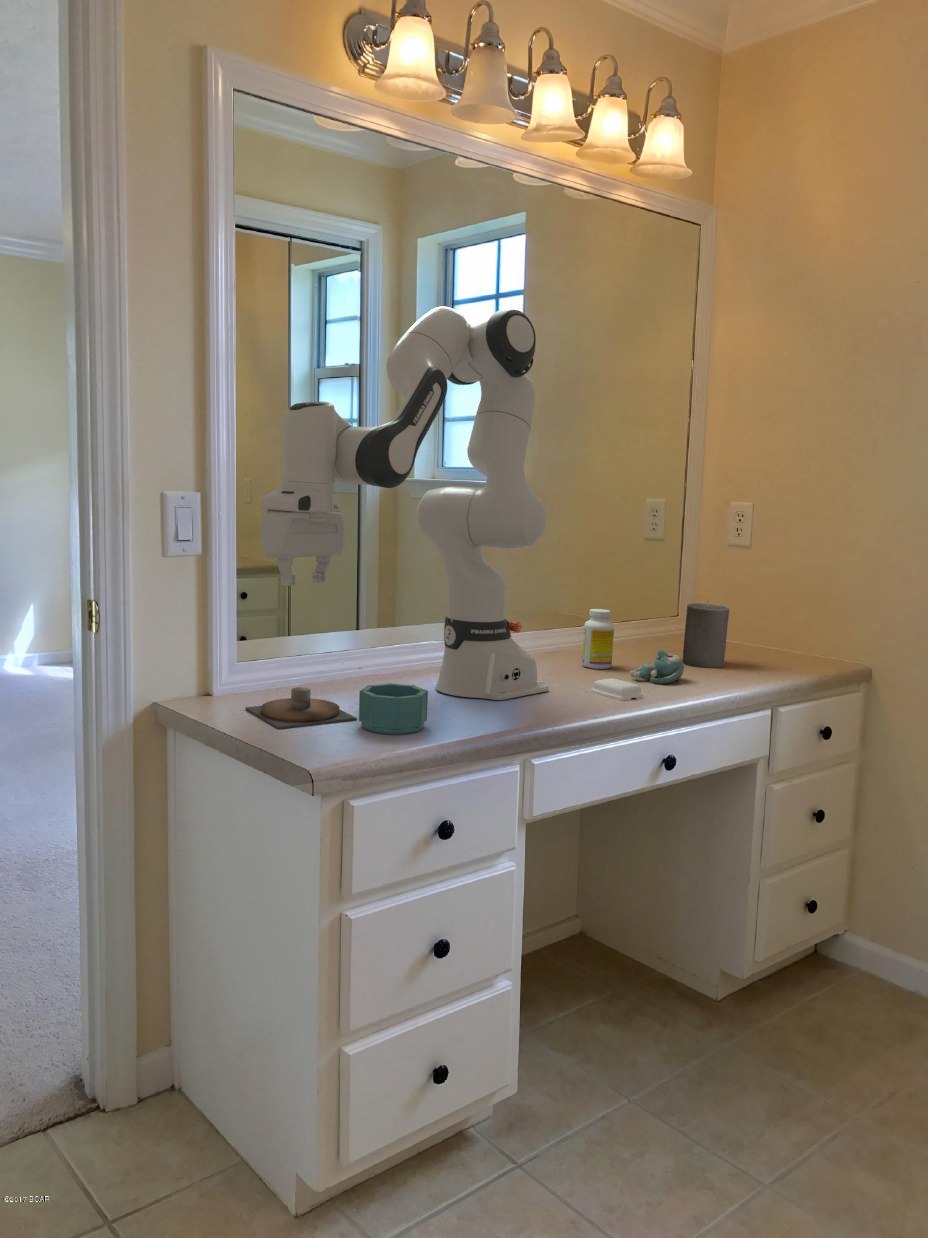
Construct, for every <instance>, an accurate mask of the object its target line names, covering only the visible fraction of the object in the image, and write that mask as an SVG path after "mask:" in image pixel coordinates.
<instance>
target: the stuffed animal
mask: <svg viewBox="0 0 928 1238" xmlns="http://www.w3.org/2000/svg"><path fill="white" fill-rule="evenodd" d="M682 660H683V658H681V657H680V655H678V654H674V653H672V652H670V653H667V652H666V651H664V649H661V648H660V649H658V650H657V656H655V658H654V662H653V664H654V665H652V664H650V663H645V664H642V666H640V667H639V668H638V669H634V670H630V671H629V675H630V677H631V678H634V679H635V680H636V679H641V678H643V679H650V682H651V683H655V684H659V685H670V684H672V683H674V682H675V681H676V680H678V679H681V677H682V676H683V674H684V669H685V664H684V663H683V661H682Z"/></svg>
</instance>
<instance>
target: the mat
mask: <svg viewBox="0 0 928 1238" xmlns="http://www.w3.org/2000/svg"><path fill="white" fill-rule="evenodd" d="M261 706H262V705H257V706H256V705H254V706H246V707H245V711H247V712H249V713H250V714H251V715H254V716H255V717H257V718H259V719H260V720H262V721H264V722H265V723H267V724H269V725H270V726H272V727H274V728H276V729H277V730H282V729H283V730H284V729H291V728H300V727H301V728H302V727H309V726H319V725H325V724H326V725H327V724H336V723H343V722H353V721H357V720H358V717H356V716H354V715H352V714H350V713H348V712H346V711H343V710H342V709H340V708H339V715H338V716H336V717H335V718H332V719H328V720H324V721H317V722H285V721H278V720H273V719H269V718H266V717H264V716H263V715H262V714H261Z"/></svg>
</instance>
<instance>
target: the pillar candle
mask: <svg viewBox="0 0 928 1238" xmlns="http://www.w3.org/2000/svg"><path fill="white" fill-rule="evenodd" d="M709 602H710V601H709V600H707V603H703V602H702V603H701V602H700V603H699V602H697V603H694V602H693V603H688V604H687V607H686V616H685V626H684V628H685V629H684V639H683V650H682V661H683V663H684V665H687V666H691V667H696V668H705V669H718V668H722V667H723V668H724V666H725V657H726V648H727V635H728V626H729V616H730V615H729V614H730V608H729V607H727V606H724V605H719V604H712V603H711V604H710V603H709Z"/></svg>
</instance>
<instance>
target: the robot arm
mask: <svg viewBox="0 0 928 1238" xmlns="http://www.w3.org/2000/svg"><path fill="white" fill-rule="evenodd" d="M535 331H536V330H535V328H534V326H533V324H532V322H531V319H529V317H528V316H527V315H526V314H525V313H524V312H522V310H521V311H520V310H519V309H502V310H497V311H494V312H493V313H492V314H489V315H485V316H483V317H479V318H478V319H473V321H471V322H470V323H468V321H467V320H466V318H465V317H464V316H463V315H462V313H461V312H459V311H458V310H456V309H454V308H452V307H448V306H438V307H434V308H432V309H431V310H429V311H428V312H427V313H425V314H424V315H422V316H421V317H420V318H419V319H417V321H416V322H414V323H413V325H412V326H410V328H408V329H407V331H406V332H405V333H404V334H403V335H402V337H400V339H399V340H398V342H397V343H396V344H395V345H394V347H393V348H392V350H391V351H390V353H389V355H388V358H387V360H386V373H387V378H388V381H389V382H390V384H391V386H392V388H393V389H394V390H395V391H396V393H397V394H398V395H400V396H401V398H403V399H404V400H403V402H402V404H401V406H399V408H398V410H397V413H395V416H394V417H393V419H392V420H391V421H389V422H386V423H383V424H381V425H376V426H353V424H351V423H350V422H348V421H346V419H344V418H343V417H342V416H341V415H340V414H339V413H338V412H337V411H336V409H335V405H334V404H333V403H331V402H328V401H306V402H297V403H295V404H292V405H291V406H289V408H288V409H287V412H286V414H285V417H284V423H283V429H282V439H281V440H282V442H281V457H282V461H283V471H282V474H281V476H280V487H278V488H277V489H275V490H272V491H271V492H269V493H268V494H265V495H264V496H263V497H261V509H263V510H264V513H263V515H262V518H261V529H260V549H261V551H262V554H263V556H264V557H265V558H271V559H276V565H277V568H278V571H279V573H280V584H281V586H284V587H291V586H292V587H293V586H295V585H296V575H295V574H293V569H292V567H291V566H292V565H293V564H294V558H295V559H296V558H297V559H299V558H312V557H313V558H314V557H315V562H317V563H316V567H315V571H312V578H311V581H312V582H313V583H314V584H315V583H316V584H324V583H325V582H326V578H327V577H326V576H327V575H326V574H327V571H328V569H329V567H330V564H331V559H332V558H331V557H333V556H334V557H336V556H342V554H343V553H344V550H345V526H344V525H345V524H344V518H343V515H342V514H341V509H340V508H339V506H338V504H337V502H335V486H336V483H339V484H340V483H341V484H350V485H365V486H366V485H367V486H369V485H370V486H372V487H379V488H386V489H392V488H393V489H394V488H396V487H398V486H401V484H403V483H404V482H405V481H406V480H407V478H408V476H409V475H410V474H411V471H412V470H413V468H414V464H415V461H416V457H417V454H418V452H419V450H420V447H421V445H422V443H423V441H424V439H425V437H426V435H428V431H429V430H430V428H431V426H432V425H433V423H434V421H435V419H436V417H437V416H438V414H439V412H440V410H441V407H442V406H443V404H444V402H445V399H446V397H447V395H448V394H447V393H448V381H449V383H452V384H454V385H458V386H469V385H474V384H475V383H477V382H479V385H480V400H479V403H478V406H477V407H478V408H477V410H476V413H475V417H474V421H473V425H472V429H471V433H470V438H469V441H468V446H467V451H466V452H467V458H468V461H469V463H470V464H471V466H472V467H473V468H474V469H475V470H476V471H478V472H479V473H480V474H482V476H485V477H486V481H485V484H484V486H482V487H474V486H473V487H470V486H453V485H452V486H444V487H438V488H434V489H429V490H428V491H426V492H425V493H424V494H423V495H422V497H421V498H420V499H419V502H418V505H417V508H416V522H417V525H418V528H419V530H420V532H421V533H422V534H423V536H424V537H425V538H426V539H427V540H429V541H430V542H431V544H432V545H433V546H434V548H435V550H436V552H438V554H439V556H440V558H441V561H442V563H443V566H444V569H445V570H444V571H445V575H446V580H447V581H446V583H447V584H446V585H447V586H446V587H447V607H446V608H447V614H446V616H445V618H444V628H443V640H444V641H443V642H444V650H443V658H442V663H441V667H440V671H439V676H438V679H437V683H436V685H435V689H436V691H438V692H441V693H442V694H446V695H451V696H455V697H463V698H473V699H474V698H476V699H485V700H494V701H495V700H496V701H503V700H508V699H513V698H519V697H523V696H529V695H535V694H540V693H544V692H548V691H549V685H548V684H547V682H544V681H542V680H539V679H538V668H537V663H536V660H535V658H534V657H533V656H532V655H531V654H530V653H529V652H527V650H525V649H524V647H522V646H521V645H519V643H517V642H516V641H515V640H514V639H513V638H512V634H511V632H514V633H517V634H518V633H520V632H521V630H522V628H523V627H522V624H521V622H518V621H515V620H511V621H508V620H507V619H506V618H505V617H506V616H505V615H506V614H505V613H506V596H507V595H506V594H507V583H506V580H505V578H504V576H503V574H502V573H501V572H500V571H499V570H498V569H496V568H495V567H494V566H492V565H490V564H489V563H488V562H487V561H486V559H485V557H484V554H483V551H482V547H488V548H500V549H501V548H502V549H516V548H522V547H523V548H524V547H525V548H526V547H530V546H531V547H532V546H534V545H535V544H536V543H538V542H539V540H540V539H541V538H542V536H543V535H544V532H545V530H546V527H547V520H548V518H547V517H548V516H547V510H546V507H545V505H544V503H543V501H542V500H541V498H540V497H539V496H538V495H537V494H536V493H535V492H534V491H533V490H532V488H531V486H530V485H529V483H528V480H527V478H526V473H525V464H526V463H525V462H526V454H527V449H528V444H529V439H530V434H531V431H532V429H531V428H532V425H533V420H534V414H535V413H534V412H535V403H536V401H535V400H536V399H535V397H536V396H535V395H536V393H535V392H536V388H535V385H534V383H533V380H532V379H531V378H530V377H529V376H528V375H526V374H527V373H528V372H529V371H530V370H531V368H532V366H533V364H534V356H535V352H536V342H537V340H536V338H537V337H536V332H535Z"/></svg>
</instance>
